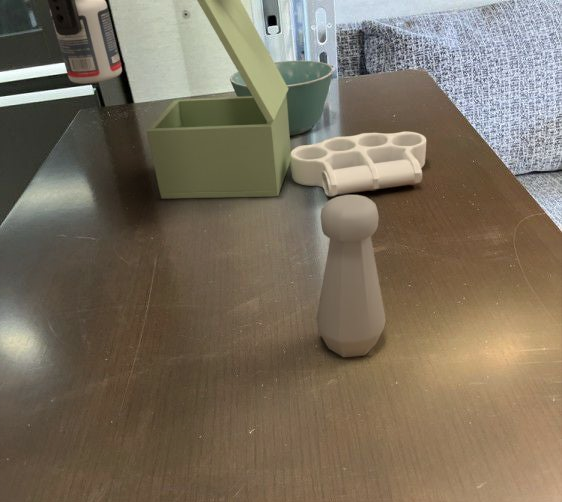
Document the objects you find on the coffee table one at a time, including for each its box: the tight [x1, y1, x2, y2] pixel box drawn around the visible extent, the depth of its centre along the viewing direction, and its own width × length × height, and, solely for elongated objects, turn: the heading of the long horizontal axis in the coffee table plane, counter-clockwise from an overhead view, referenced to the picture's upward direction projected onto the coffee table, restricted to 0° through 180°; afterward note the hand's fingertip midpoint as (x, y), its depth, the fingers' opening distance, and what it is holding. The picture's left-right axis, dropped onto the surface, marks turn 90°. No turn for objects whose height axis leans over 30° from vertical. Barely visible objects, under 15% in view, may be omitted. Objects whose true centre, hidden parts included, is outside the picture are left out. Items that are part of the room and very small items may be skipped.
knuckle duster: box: [290, 130, 427, 198], centre depth 81 cm, size 3×18×15 cm
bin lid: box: [196, 0, 288, 123], centre depth 73 cm, size 16×13×5 cm
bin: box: [146, 95, 292, 200], centre depth 82 cm, size 16×13×9 cm
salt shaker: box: [316, 194, 387, 358], centre depth 50 cm, size 6×6×13 cm
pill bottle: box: [49, 0, 123, 85], centre depth 59 cm, size 5×5×9 cm
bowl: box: [229, 60, 334, 136], centre depth 97 cm, size 16×16×8 cm
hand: (83, 26), depth 59 cm, fingers closed on pill bottle, 5 cm apart
